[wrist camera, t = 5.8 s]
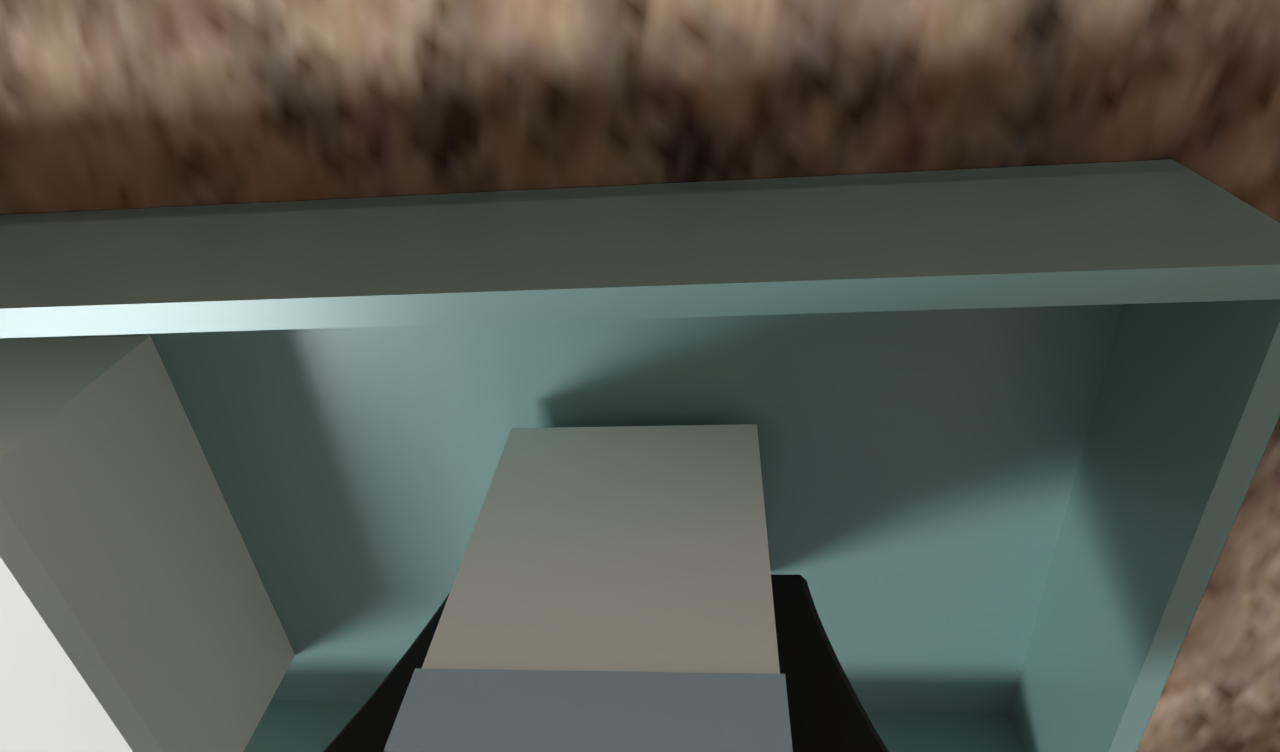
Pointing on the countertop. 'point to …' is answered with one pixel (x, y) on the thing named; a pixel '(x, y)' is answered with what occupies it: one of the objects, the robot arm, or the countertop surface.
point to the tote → (732, 405)
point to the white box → (120, 564)
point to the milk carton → (609, 602)
